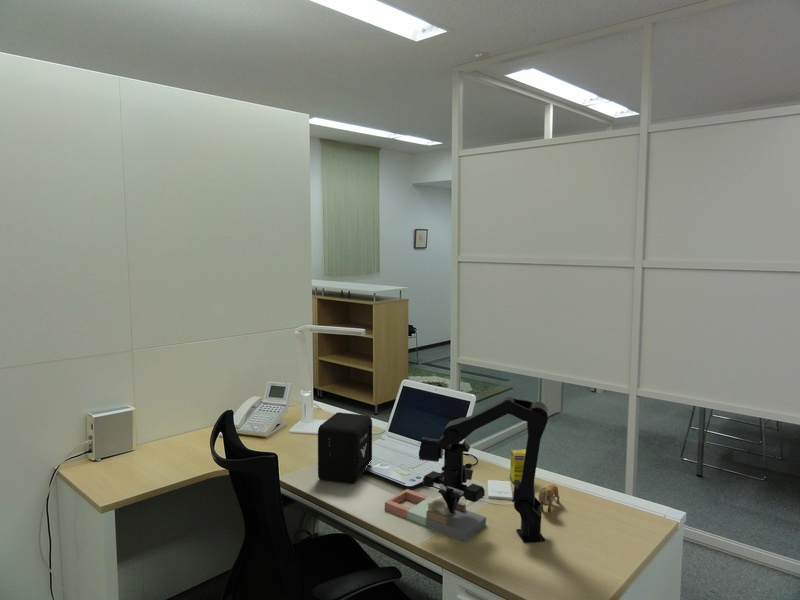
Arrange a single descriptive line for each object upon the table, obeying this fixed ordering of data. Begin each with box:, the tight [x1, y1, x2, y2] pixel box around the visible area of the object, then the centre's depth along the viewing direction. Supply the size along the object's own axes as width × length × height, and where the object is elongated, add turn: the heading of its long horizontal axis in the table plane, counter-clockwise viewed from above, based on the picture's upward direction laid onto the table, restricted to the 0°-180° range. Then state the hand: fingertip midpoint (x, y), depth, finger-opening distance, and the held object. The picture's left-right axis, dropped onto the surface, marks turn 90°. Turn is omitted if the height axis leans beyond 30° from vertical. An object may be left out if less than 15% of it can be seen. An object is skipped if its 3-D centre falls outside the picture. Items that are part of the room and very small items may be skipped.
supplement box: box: [509, 449, 526, 485], centre depth 191 cm, size 6×6×11 cm
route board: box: [384, 488, 487, 543], centre depth 165 cm, size 30×12×4 cm, turn 53°
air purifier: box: [317, 411, 373, 484], centre depth 196 cm, size 20×15×20 cm
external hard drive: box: [487, 479, 513, 501], centre depth 184 cm, size 2×8×12 cm
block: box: [428, 495, 451, 516], centre depth 164 cm, size 6×6×3 cm
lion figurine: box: [538, 484, 561, 514], centre depth 172 cm, size 15×5×9 cm, turn 154°
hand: (452, 512), depth 161 cm, fingers closed
